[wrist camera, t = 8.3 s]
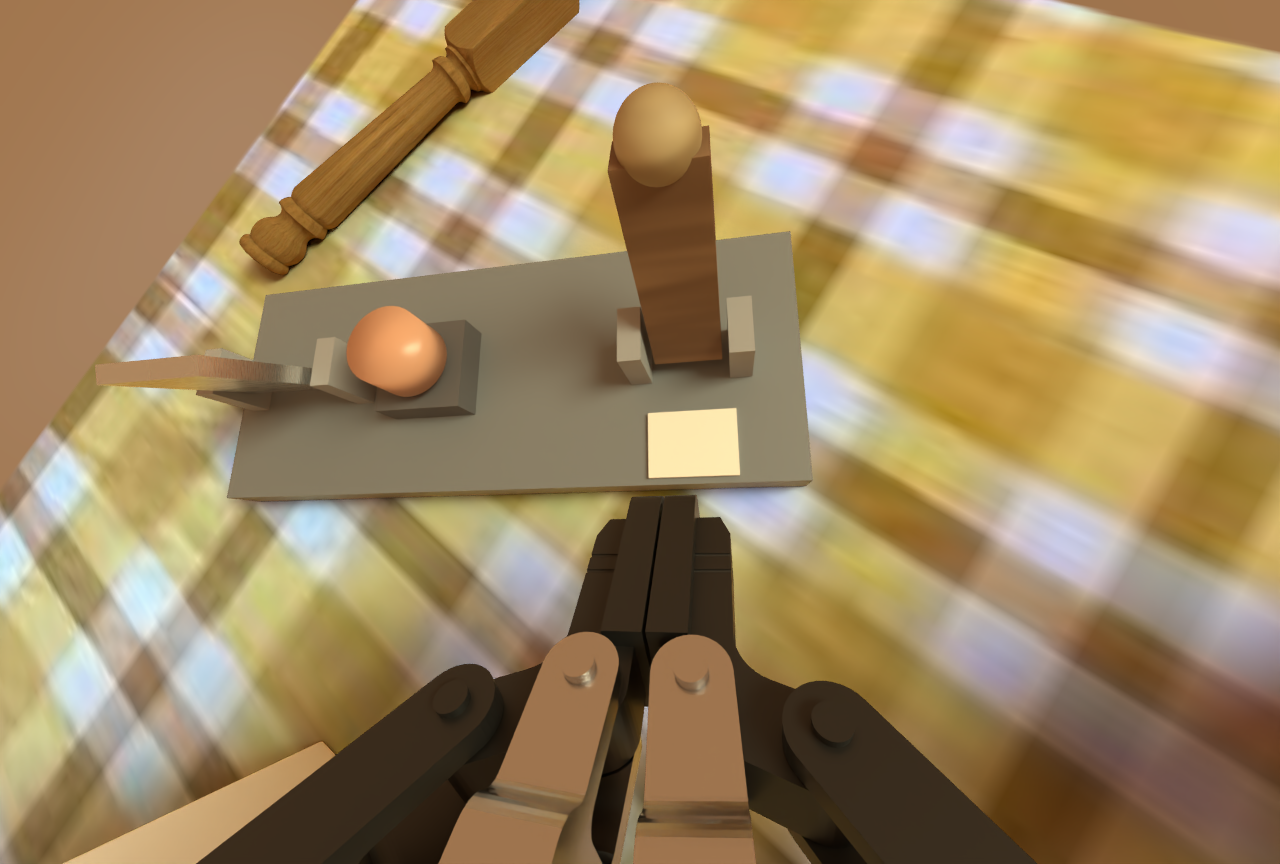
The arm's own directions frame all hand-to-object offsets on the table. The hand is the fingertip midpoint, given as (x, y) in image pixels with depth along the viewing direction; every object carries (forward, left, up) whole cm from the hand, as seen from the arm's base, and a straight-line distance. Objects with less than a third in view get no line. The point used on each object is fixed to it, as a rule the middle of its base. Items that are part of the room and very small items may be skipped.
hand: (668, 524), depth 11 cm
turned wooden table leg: (0, -32, -12) cm, 34 cm away
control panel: (+5, -12, -12) cm, 18 cm away
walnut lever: (-4, -7, -9) cm, 12 cm away
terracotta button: (+7, -14, -7) cm, 17 cm away
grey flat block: (+14, -17, -9) cm, 24 cm away
